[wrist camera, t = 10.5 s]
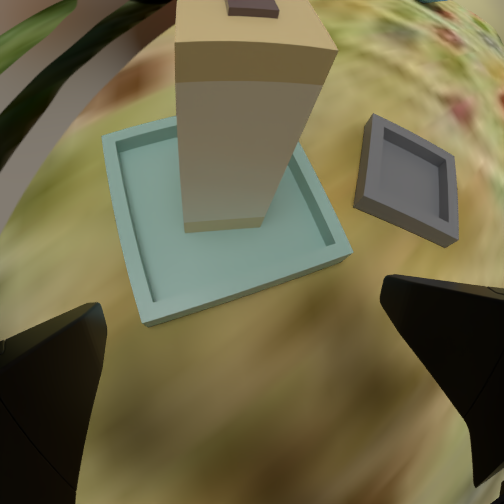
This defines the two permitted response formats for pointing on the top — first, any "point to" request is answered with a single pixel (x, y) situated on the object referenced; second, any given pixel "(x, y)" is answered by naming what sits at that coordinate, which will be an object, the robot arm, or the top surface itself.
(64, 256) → the top surface
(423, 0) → the blue small pieces
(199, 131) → the block
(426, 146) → the small gray square tray
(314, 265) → the parts tray
